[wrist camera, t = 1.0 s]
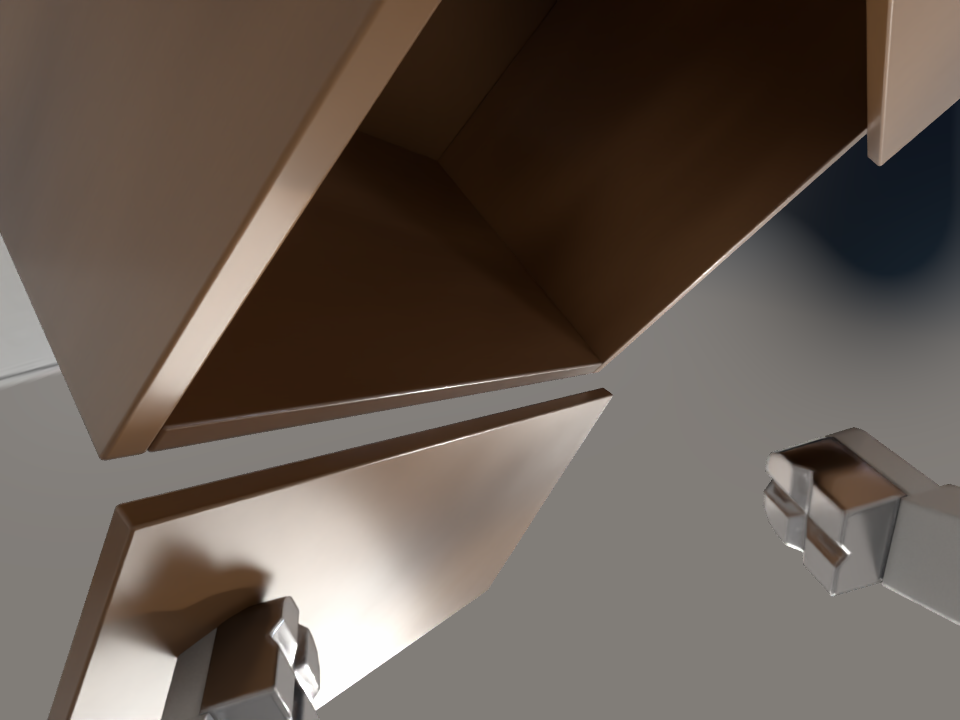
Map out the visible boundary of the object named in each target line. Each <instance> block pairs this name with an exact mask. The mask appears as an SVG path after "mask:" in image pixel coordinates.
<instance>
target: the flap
mask: <svg viewBox="0 0 960 720" xmlns="http://www.w3.org/2000/svg"><path fill="white" fill-rule="evenodd" d="M612 396H613V395H612V394H611V393H610V392H609V391H607V390H606V389H604V388H600V389H596V390H592V391H588V392H583V393H579V394H575V395H571V396H566V397H563V398H559V399H554V400H550V401H546V402H542V403H538V404H533V405H529V406H525V407H521V408H517V409H512V410H508V411H504V412H500V413H496V414H492V415H488V416H483V417H479V418H475V419H471V420H467V421H463V422H458V423H454V424H450V425H446V426H442V427H438V428H434V429H429V430H425V431H421V432H417V433H413V434H408V435H405V436H400V437H396V438H392V439H388V440H384V441H379V442H375V443H371V444H367V445H363V446H359V447H354V448H350V449H346V450H342V451H338V452H334V453H329V454H325V455H321V456H317V457H313V458H309V459H304V460H300V461H296V462H292V463H288V464H284V465H280V466H275V467H271V468H267V469H263V470H259V471H255V472H251V473H247V474H242V475H238V476H234V477H230V478H225V479H221V480H217V481H213V482H209V483H205V484H201V485H196V486H192V487H188V488H184V489H180V490H176V491H171V492H167V493H163V494H159V495H155V496H151V497H146V498H142V499H138V500H134V501H130V502H126V503H122V504H119V505H117V506H116V508H115V510H114V514H113V517H112V520H111V523H110V526H109V529H108V533H107V536H106V539H105V542H104V545H103V548H102V551H101V554H100V557H99V561H98V564H97V567H96V570H95V573H94V576H93V579H92V582H91V586H90V589H89V592H88V595H87V598H86V601H85V604H84V608H83V610H82V613H81V617H80V620H79V623H78V626H77V629H76V632H75V635H74V639H73V641H72V645H71V648H70V651H69V654H68V657H67V660H66V663H65V666H64V670H63V673H62V676H61V679H60V682H59V685H58V688H57V691H56V695H55V698H54V701H53V704H52V707H51V710H50V713H49V717H48V719H47V720H161V717H162V713H163V709H164V706H165V702H166V698H167V694H168V691H169V687H170V683H171V679H172V676H173V672H174V668H175V664H176V661H177V657H178V656H179V655H180V654H182V653H183V652H184V651H186V650H187V649H188V648H190V647H191V646H192V645H194V644H195V643H196V642H198V641H199V640H200V639H202V638H203V637H205V636H206V635H207V634H209V633H210V632H211V631H213V630H214V629H215V628H217V627H218V626H219V625H220V624H222V623H223V622H224V621H226V620H227V619H228V618H230V617H232V616H234V615H235V614H237V613H239V612H240V611H242V610H244V609H246V608H247V607H249V606H251V605H255V604H259V603H263V602H266V601H270V600H274V599H277V598H281V597H285V596H292V598H293V600H294V601H295V603H296V605H297V607H298V609H299V624H300V625H302V626H305V627H307V628H309V630H310V632H311V634H312V636H313V638H314V641H315V645H316V648H317V651H318V658H319V665H320V690H319V692H318V693H317V695H316V697H315V698H314V700H313V702H312V705H313V707H314V709H315V710H317V709H318V708H320V707H321V706H323V705H324V704H326V703H327V702H328V701H330V700H331V699H333V698H334V697H336V696H337V695H338V694H340V693H341V692H343V691H344V690H346V689H347V688H348V687H350V686H351V685H353V684H354V683H355V682H357V681H358V680H360V679H361V678H363V677H364V676H366V675H367V674H368V673H370V672H371V671H372V670H374V669H375V668H377V667H378V666H380V665H381V664H383V663H384V662H386V661H387V660H389V659H390V658H391V657H393V656H394V655H396V654H397V653H398V652H400V651H401V650H403V649H404V648H406V647H407V646H408V645H410V644H411V643H413V642H414V641H416V640H417V639H418V638H420V637H421V636H423V635H424V634H426V633H427V632H429V631H430V630H431V629H433V628H434V627H436V626H437V625H439V624H440V623H442V622H443V621H444V620H446V619H447V618H449V617H450V616H451V615H453V614H454V613H456V612H457V611H459V610H460V609H461V608H463V607H464V606H466V605H467V604H469V603H470V602H472V601H473V600H474V599H476V598H477V597H479V596H480V595H482V594H483V593H484V592H485V591H487V590H488V589H489V587H490V586H491V584H492V583H493V581H494V579H495V578H496V576H497V575H498V573H499V572H500V570H501V569H502V567H503V565H504V564H505V562H506V561H507V559H508V558H509V556H510V555H511V553H512V551H513V550H514V548H515V547H516V545H517V544H518V542H519V541H520V539H521V538H522V536H523V534H524V533H525V531H526V530H527V528H528V527H529V525H530V524H531V522H532V520H533V519H534V517H535V516H536V514H537V513H538V511H539V509H540V508H541V506H542V505H543V503H544V502H545V500H546V498H547V497H548V496H549V494H550V492H551V491H552V489H553V488H554V486H555V485H556V483H557V482H558V480H559V478H560V477H561V475H562V474H563V472H564V471H565V469H566V467H567V466H568V464H569V463H570V461H571V460H572V458H573V457H574V455H575V454H576V452H577V451H578V449H579V447H580V446H581V444H582V443H583V441H584V440H585V438H586V437H587V435H588V433H589V432H590V430H591V429H592V427H593V425H594V424H595V423H596V421H597V419H598V418H599V416H600V415H601V413H602V412H603V410H604V409H605V407H606V406H607V404H608V402H609V401H610V399H611V398H612Z"/></svg>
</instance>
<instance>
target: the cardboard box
mask: <svg viewBox="0 0 960 720" xmlns="http://www.w3.org/2000/svg"><path fill="white" fill-rule="evenodd" d="M958 99H960V0H0V233H1V235H2V238H3V240H4V242H5V244H6V247H7V249H8V251H9V254H10V256H11V258H12V260H13V263H14V265H15V267H16V269H17V272H18V274H19V276H20V279H21V281H22V283H23V285H24V288H25V290H26V292H27V294H28V297H29V299H30V301H31V304H32V306H33V308H34V310H35V313H36V315H37V317H38V319H39V322H40V324H41V326H42V329H43V331H44V333H45V335H46V338H47V340H48V342H49V345H50V347H51V349H52V351H53V354H54V356H55V358H56V360H57V363H58V365H59V367H60V370H61V372H62V374H63V376H64V379H65V381H66V383H67V385H68V388H69V390H70V392H71V394H72V397H73V399H74V401H75V404H76V406H77V408H78V410H79V413H80V415H81V417H82V419H83V422H84V424H85V426H86V429H87V431H88V433H89V435H90V438H91V440H92V442H93V445H94V447H95V449H96V451H97V454H98V456H99V458H100V459H101V460H111V459H116V458H122V457H128V456H134V455H139V454H142V453H144V452H146V451H147V450H148V451H149V452H155V451H161V450H166V449H173V448H178V447H183V446H189V445H195V444H200V443H206V442H212V441H217V440H223V439H228V438H234V437H240V436H245V435H251V434H256V433H262V432H268V431H273V430H278V429H284V428H290V427H295V426H301V425H306V424H312V423H318V422H323V421H329V420H334V419H340V418H346V417H351V416H357V415H362V414H368V413H374V412H379V411H385V410H390V409H396V408H401V407H406V406H412V405H418V404H424V403H429V402H435V401H441V400H446V399H452V398H457V397H462V396H468V395H474V394H480V393H485V392H490V391H496V390H502V389H508V388H512V387H519V386H524V385H530V384H535V383H541V382H546V381H552V380H558V379H563V378H568V377H575V376H580V375H586V374H591V373H597V372H599V371H600V370H601V369H603V368H604V367H605V366H606V365H607V364H608V363H609V362H610V361H611V360H613V359H614V358H615V357H616V356H617V355H618V354H619V353H620V352H622V351H623V350H624V349H625V348H626V347H627V346H628V345H629V344H630V343H632V342H633V341H634V340H635V339H636V338H637V337H638V336H639V335H641V334H642V333H643V332H644V331H645V330H646V329H647V328H649V327H650V326H651V325H652V324H653V323H654V322H655V321H656V320H657V319H659V318H660V317H661V316H662V315H663V314H664V313H665V312H666V311H668V310H669V309H670V308H671V307H672V306H673V305H674V304H675V303H677V302H678V301H679V300H680V299H681V298H682V297H683V296H684V295H686V294H687V293H688V292H689V291H690V290H691V289H692V288H693V287H695V286H696V285H697V284H698V283H699V282H700V281H701V280H702V279H704V278H705V277H706V276H707V275H708V274H709V273H710V272H711V271H713V270H714V268H716V267H717V266H718V265H719V264H720V263H721V262H723V261H724V260H725V259H726V258H727V257H728V256H729V255H730V254H731V253H733V252H734V251H735V250H736V249H737V248H738V247H740V246H741V245H742V244H743V243H744V242H745V241H746V240H747V239H749V238H750V237H751V236H752V235H753V234H754V233H755V232H756V231H757V230H759V229H760V228H761V227H762V226H763V225H764V224H765V223H766V222H768V221H769V220H770V219H771V218H772V217H773V216H774V215H775V214H777V213H778V212H779V211H780V210H781V209H782V208H783V207H784V206H786V205H787V204H788V203H789V202H790V201H791V200H792V199H793V198H795V197H796V196H797V195H798V194H799V193H800V192H801V191H802V190H803V189H805V188H806V187H807V186H808V185H809V184H810V183H811V182H812V181H814V180H815V179H816V178H817V177H818V176H819V175H820V174H821V173H823V172H824V171H825V170H826V169H827V168H828V167H829V166H830V165H832V164H833V163H834V162H835V161H836V160H837V159H838V158H839V157H841V156H842V155H843V154H844V153H845V152H846V151H847V150H848V149H849V148H851V147H852V146H853V145H854V144H855V143H856V142H857V141H859V140H860V139H861V138H862V137H863V136H864V135H865V134H866V133H867V139H868V140H867V141H868V143H867V144H868V157H869V158H870V159H871V160H872V161H874V162H875V163H876V164H877V165H879V166H881V165H882V164H884V162H886V161H887V160H888V159H889V158H891V157H892V156H893V155H894V154H895V153H896V152H898V151H899V150H900V149H901V148H902V147H903V146H905V145H906V144H907V143H908V142H909V141H910V140H912V139H913V138H914V137H915V136H916V135H918V134H919V133H920V132H921V131H922V130H923V129H924V128H926V127H927V126H928V125H929V124H930V123H932V121H934V120H935V119H936V118H937V117H938V116H940V115H941V114H942V113H943V112H944V111H946V110H947V109H948V108H949V107H950V106H951V105H952V104H954V103H955V102H956V101H957V100H958Z"/></svg>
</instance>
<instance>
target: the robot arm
mask: <svg viewBox="0 0 960 720" xmlns="http://www.w3.org/2000/svg"><path fill="white" fill-rule="evenodd" d="M765 471H766V472H767V473H768V475H770V477H771V478H772V480H771V482H770V483H769V485H768V486H767V487H766V489H765V490H764V509H765V512H766V515H767V518H768V521H769V523H770V525H771V526H772V528H773V530H774V531H775V533H776V534H777V535H778V537H779V538H780V539H781V540H782V541H783V542H784V544H786V545H788V546H790V547H793V548H795V549H797V550H800V551H802V552H803V565H804V566H805V567H806V568H807V569H808V571H809V572H810V573H811V574H812V575H813V576H814V577H815V578H816V579H817V581H818V582H819V583H820V584H821V585H822V586H823V587H824V588H825V589H826V590H827V592H828V593H829V594H830V595H831V596H832V597H833V596H836V595H840V594H843V593H847V592H850V591H853V590H857V589H860V588H864V587H867V586H871V585H874V584H878V583H881V582H882V586H884V587H887V588H888V589H890V590H892V591H894V592H896V593H898V594H900V595H902V596H904V597H906V598H907V599H910V600H911V601H913V602H915V603H917V604H919V605H921V606H923V607H925V608H927V609H929V610H931V611H933V612H934V613H936V614H939V615H940V616H942V617H944V618H946V619H948V620H950V621H952V622H954V623H956V624H958V625H960V487H958V486H955V485H951V484H947V485H943V486H939V485H938V484H936V483H935V482H934V481H932V480H931V479H930V478H928V477H927V476H925V475H924V474H923V473H921V472H920V471H919V470H917V469H916V468H915V467H913V466H912V465H910V464H909V463H908V462H906V461H905V460H904V459H902V458H901V457H900V456H898V455H897V454H895V453H894V452H893V451H891V450H890V449H889V448H887V447H886V446H884V445H883V444H882V443H880V442H879V441H878V440H876V439H875V438H874V437H872V436H871V435H870V434H868V433H867V432H865V431H864V430H861V429H858V428H855V427H853V428H850V429H846V430H843V431H840V432H837V433H833V434H830V435H827V436H825V437H820V438H817V439H813V440H810V441H807V442H804V443H801V444H797V445H794V446H790V447H787V448H784V449H781V450H777V451H774V452H771V453H770V454H769V456H768V458H767V459H766V470H765ZM319 690H320V665H319V658H318V651H317V648H316V645H315V641H314V638H313V636H312V634H311V632H310V630H309V628H307V627H305V626H302V625H300V624H299V609H298V607H297V605H296V603H295V601H294V600H293V598H292V596H285V597H281V598H277V599H274V600H270V601H266V602H263V603H259V604H255V605H251V606H249V607H247V608H246V609H244V610H242V611H240V612H239V613H237V614H235V615H234V616H232V617H230V618H228V619H227V620H226V621H224V622H223V623H222V624H220V625H219V626H218V627H217V628H215V629H214V630H213V631H211V632H210V633H209V634H207V635H206V636H205V637H203V638H202V639H200V640H199V641H198V642H196V643H195V644H194V645H192V646H191V647H190V648H188V649H187V650H186V651H184V652H183V653H182V654H180V655H179V656H178V657H177V661H176V664H175V668H174V672H173V676H172V679H171V683H170V687H169V691H168V694H167V698H166V702H165V706H164V709H163V713H162V717H161V720H319V716H318V714H317V712H316V710H315V709H314V707H313V705H312V702H313V700H314V698H315V697H316V695H317V693H318V692H319Z"/></svg>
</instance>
